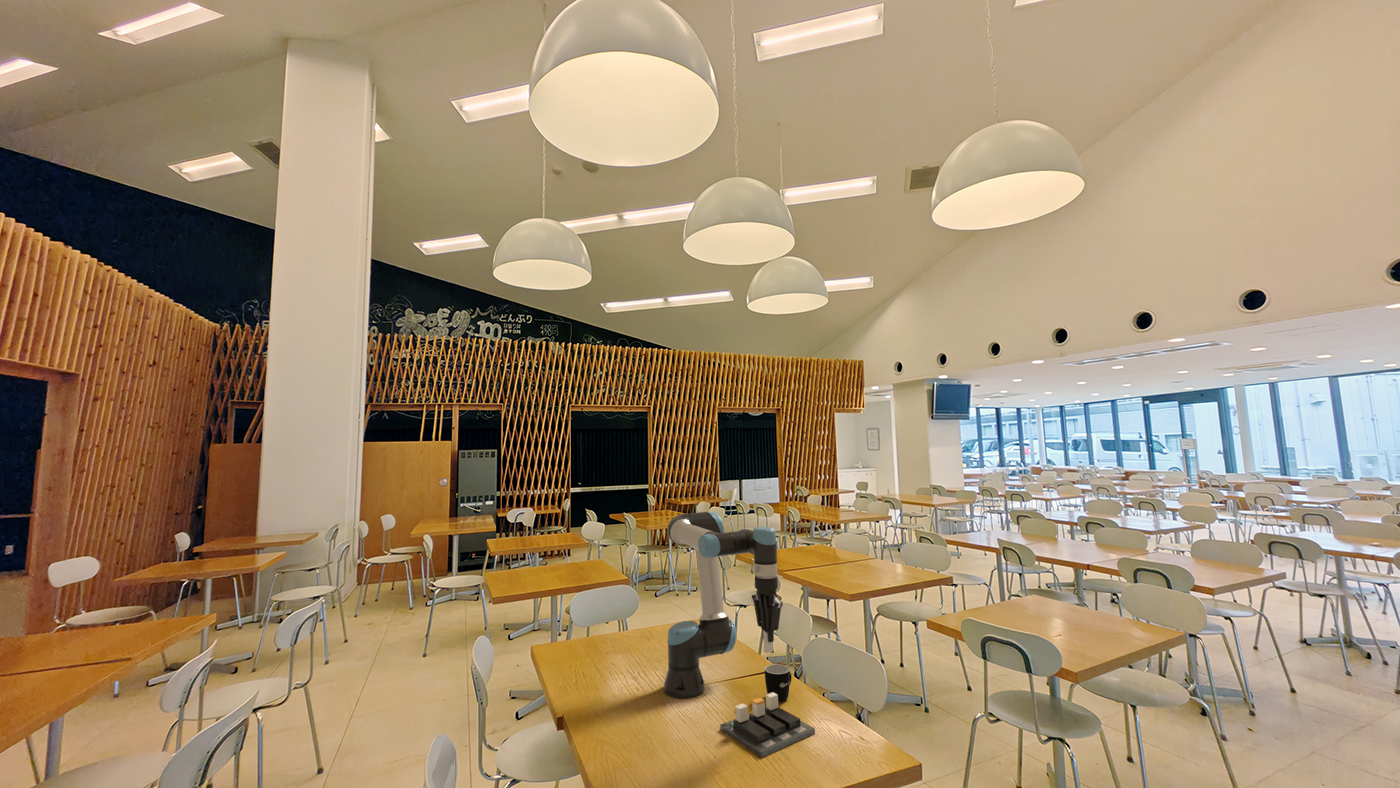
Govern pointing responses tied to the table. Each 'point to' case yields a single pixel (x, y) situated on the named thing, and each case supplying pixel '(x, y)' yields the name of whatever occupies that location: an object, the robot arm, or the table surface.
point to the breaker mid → (758, 707)
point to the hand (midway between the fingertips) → (768, 651)
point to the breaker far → (771, 701)
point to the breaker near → (741, 712)
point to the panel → (770, 749)
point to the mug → (778, 680)
